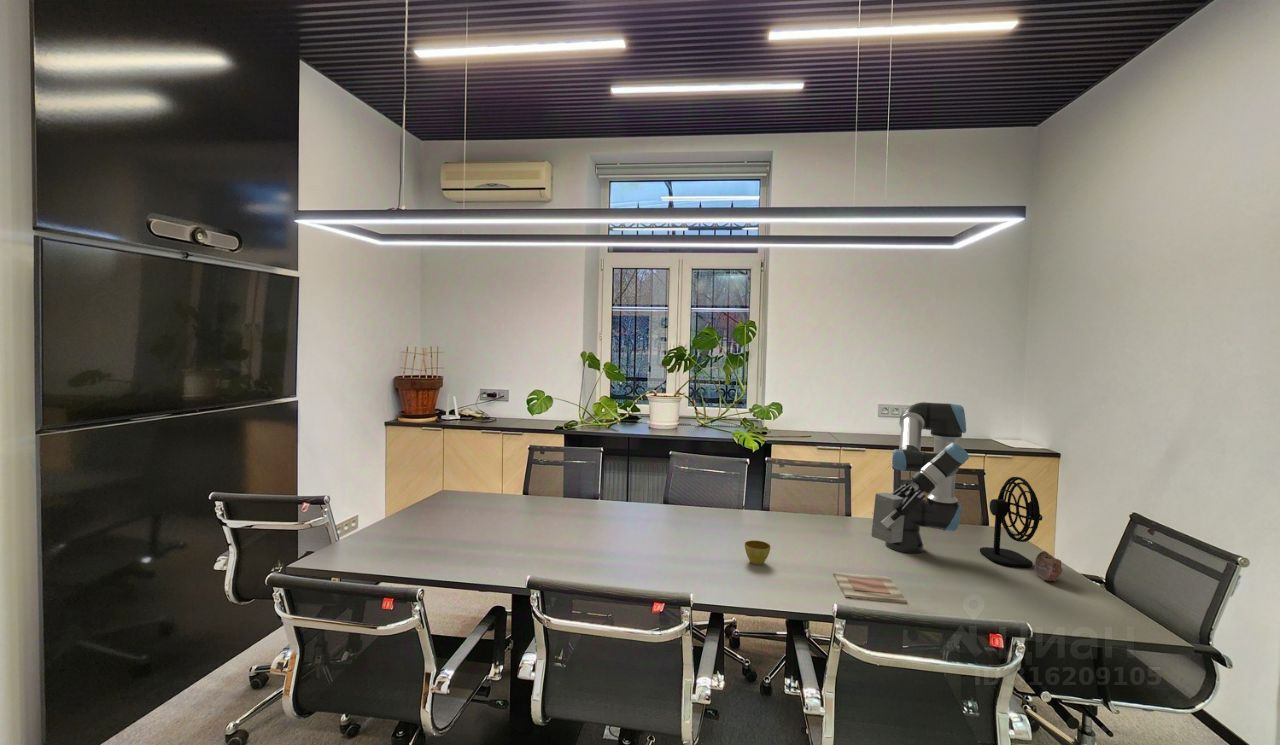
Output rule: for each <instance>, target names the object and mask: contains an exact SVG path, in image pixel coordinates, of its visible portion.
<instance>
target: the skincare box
mask: <svg viewBox="0 0 1280 745" xmlns="http://www.w3.org/2000/svg"><path fill="white" fill-rule="evenodd" d="M904 499H905V498H902V497H899V496H897V495H893V494H891V493H889V492H878V493H875V498H874V507H873V512H874V515H873V514H872V515H873V517H872V518H873V519H872V527H871V538H873V539H874V538H875V539H877V540H880V541H883V542H884V543H885V542H888V543H895V542H902V536H903V525H904V515H903V516H902V515H901V517H899V518H898V519H897V520H896V521H895V522H894V523H892V524H891V525H890V526H889V527H888V528H887V527H886V526H885V525H884V524H883V523H882V522H881V521H882V520H883V519H885V518H886V517H887V516H888V515H889V514H890V513H892V512H893V511H894V510H895V508H899V506H900V505H901V503H902V502H903V500H904Z"/></svg>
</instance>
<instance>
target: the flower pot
mask: <svg viewBox="0 0 1280 745" xmlns="http://www.w3.org/2000/svg"><path fill="white" fill-rule="evenodd" d="M744 548H745V553H746V556H747V558H748V560H749V563H751V564H753V565H755V566H756V565H757V566H759V565H763V564H764V563H765V562H766V560H767V559H768V557H769V555H770V551H771V548H772V547H771V544H769V543H768V542H766V541H761V540H747V541H745V542H744Z"/></svg>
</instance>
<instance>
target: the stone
mask: <svg viewBox="0 0 1280 745" xmlns="http://www.w3.org/2000/svg"><path fill="white" fill-rule="evenodd" d="M1062 564H1063V563H1062V561H1061V559H1058V558H1054V557H1053V555H1051V554H1049V552H1047V551H1045V550H1043V551H1041V552H1039V554H1037V555H1036V557H1035V563H1034V572H1035V574H1037V575H1038V576H1039V577H1040V578H1041V580H1044V581H1047V582H1056V581H1058V578H1059V576H1060V575H1061V574H1063V571H1064V570H1063V568H1062Z"/></svg>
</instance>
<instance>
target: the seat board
mask: <svg viewBox="0 0 1280 745" xmlns="http://www.w3.org/2000/svg"><path fill="white" fill-rule="evenodd" d="M832 573H833V574H832V575H834V576H833V577H834V579H835V581H836V584H837V585H838V586H839V589H840V591H841V590H842V591H841V592H843V593H842V594H844V595H843V597H844V598H846V597H853V598H852V599H857V598H863V599H862V600H867V599H870V600H871V601H879V602H881V601H882V602H888V603H889V602H891V603H903V604H907V598H906V597H905V596H904V595H903V594H902V592H901V591H900V590H899V589H898V587H897V585H895V583H894V582H893V581H892V579H891V578H890V577H889V576H883V575H881V576H880V575H869V574H856V573H848V572H837V571H834V572H832Z"/></svg>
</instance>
